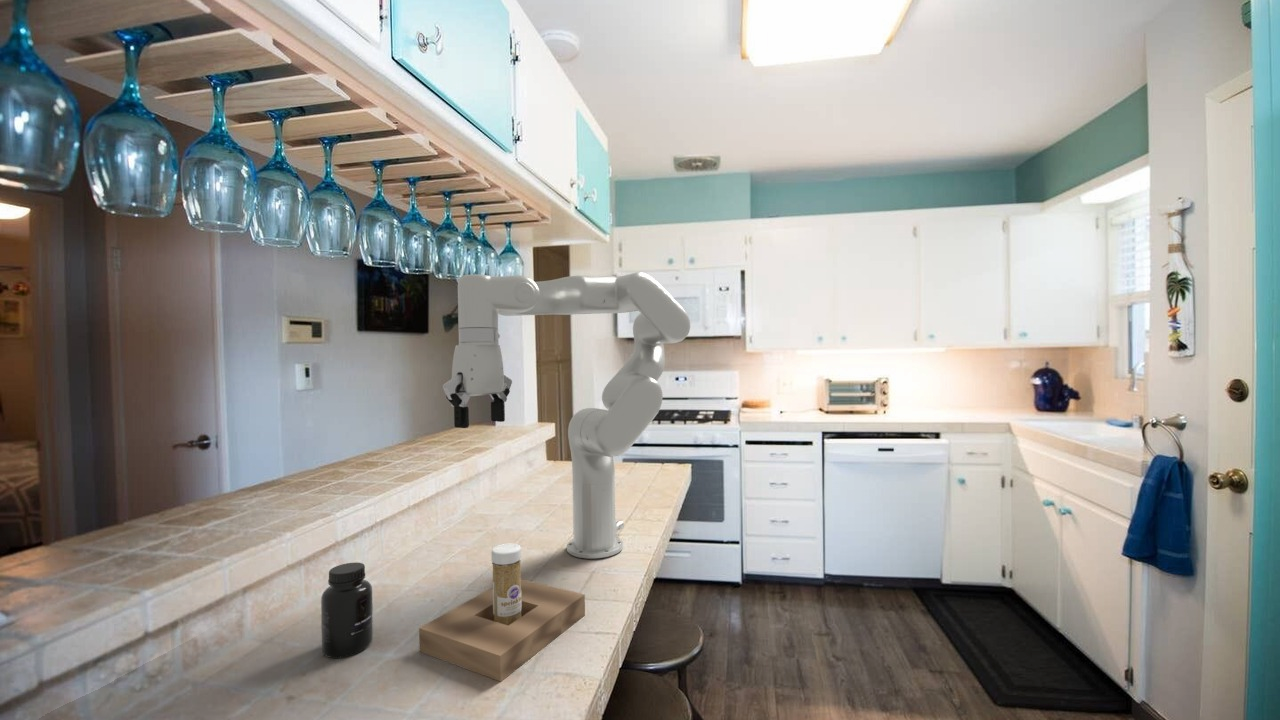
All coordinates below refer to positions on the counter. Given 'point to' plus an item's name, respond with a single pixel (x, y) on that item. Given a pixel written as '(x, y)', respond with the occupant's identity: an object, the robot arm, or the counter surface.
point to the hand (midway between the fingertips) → (480, 424)
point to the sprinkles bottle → (506, 583)
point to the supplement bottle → (346, 611)
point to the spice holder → (501, 630)
